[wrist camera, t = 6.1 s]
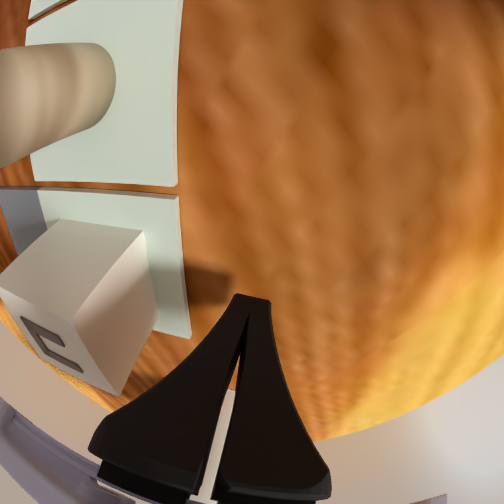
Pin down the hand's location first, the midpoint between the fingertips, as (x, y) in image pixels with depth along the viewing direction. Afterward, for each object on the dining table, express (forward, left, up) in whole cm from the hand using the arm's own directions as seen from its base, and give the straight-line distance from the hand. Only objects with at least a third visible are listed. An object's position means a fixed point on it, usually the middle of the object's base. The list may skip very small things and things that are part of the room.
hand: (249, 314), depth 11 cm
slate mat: (-14, 0, -1) cm, 14 cm away
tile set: (-7, +8, -1) cm, 11 cm away
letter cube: (-7, 0, -1) cm, 7 cm away
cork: (-7, +8, -1) cm, 11 cm away
